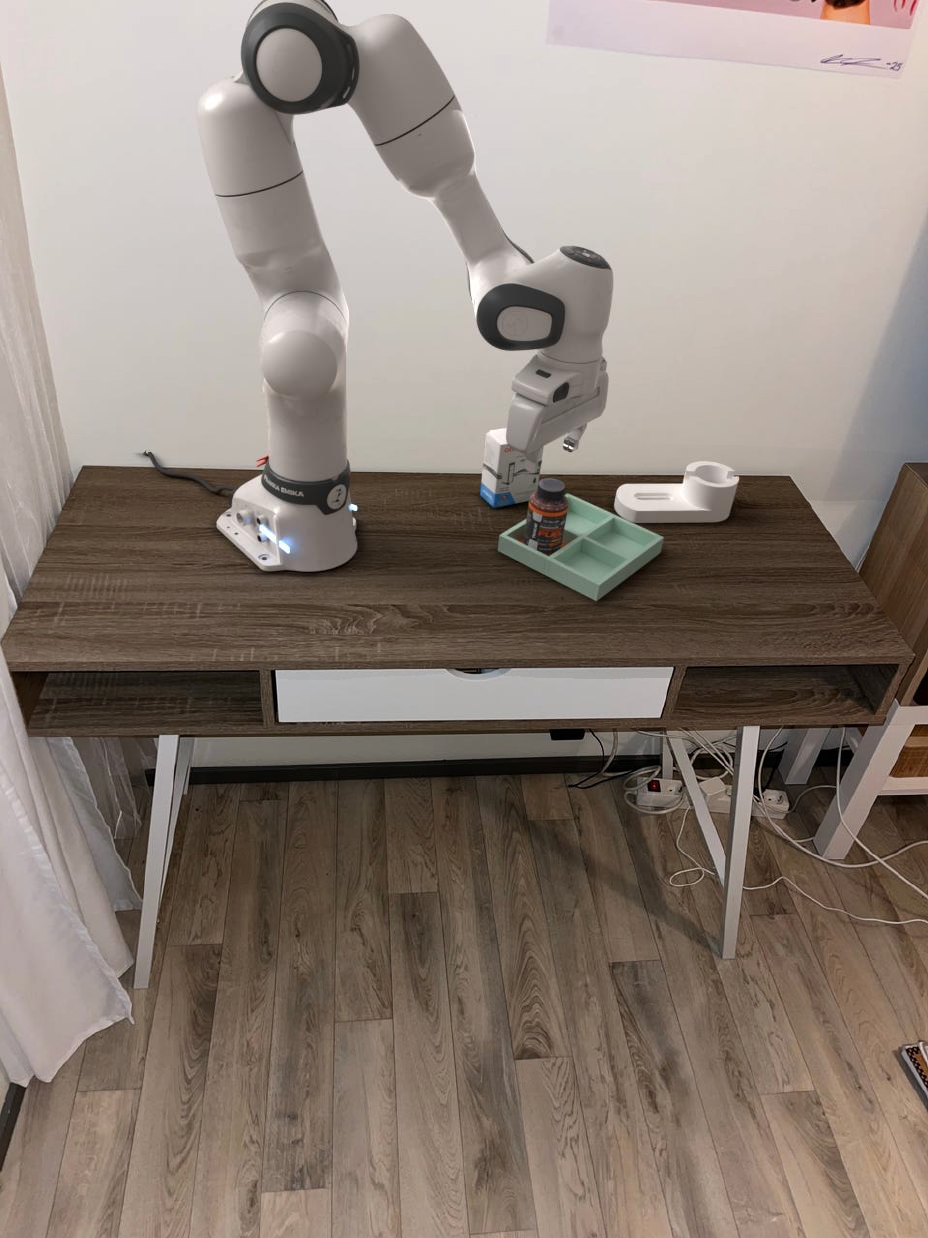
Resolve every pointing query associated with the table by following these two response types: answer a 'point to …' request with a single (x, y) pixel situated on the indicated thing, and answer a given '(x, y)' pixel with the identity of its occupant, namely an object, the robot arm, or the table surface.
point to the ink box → (506, 472)
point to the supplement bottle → (546, 517)
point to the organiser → (588, 549)
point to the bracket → (681, 497)
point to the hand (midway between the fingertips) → (551, 459)
